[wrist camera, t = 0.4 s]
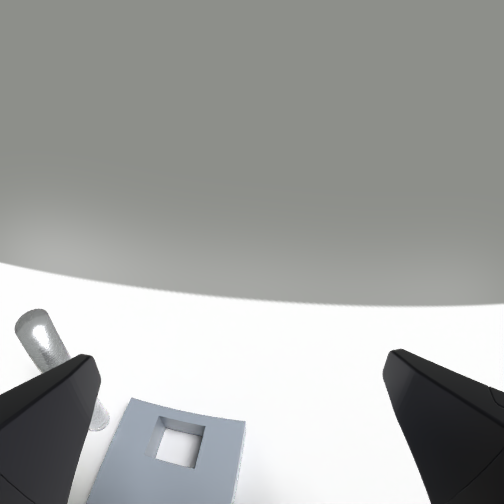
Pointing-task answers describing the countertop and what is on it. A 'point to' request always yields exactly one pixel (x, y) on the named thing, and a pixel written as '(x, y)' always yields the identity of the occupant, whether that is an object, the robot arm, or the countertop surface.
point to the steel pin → (50, 352)
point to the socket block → (164, 473)
